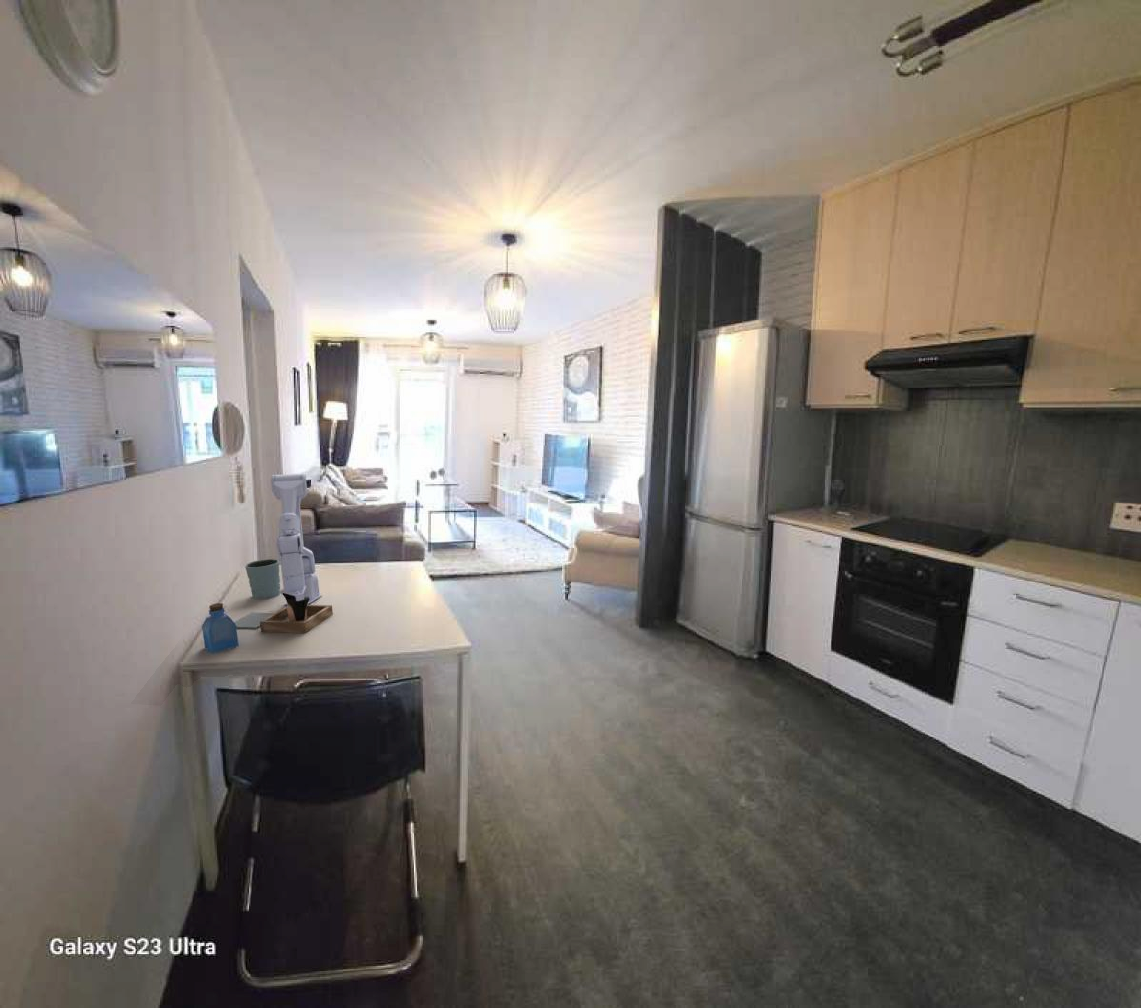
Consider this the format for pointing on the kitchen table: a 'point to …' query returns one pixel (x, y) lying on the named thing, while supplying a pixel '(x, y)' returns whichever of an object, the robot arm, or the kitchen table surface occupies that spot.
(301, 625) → the wooden square frame
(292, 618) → the terracotta pot
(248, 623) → the slate mat
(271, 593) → the green pot
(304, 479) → the robot arm
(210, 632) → the perfume bottle
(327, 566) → the kitchen table surface
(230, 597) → the kitchen table surface
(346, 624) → the kitchen table surface
